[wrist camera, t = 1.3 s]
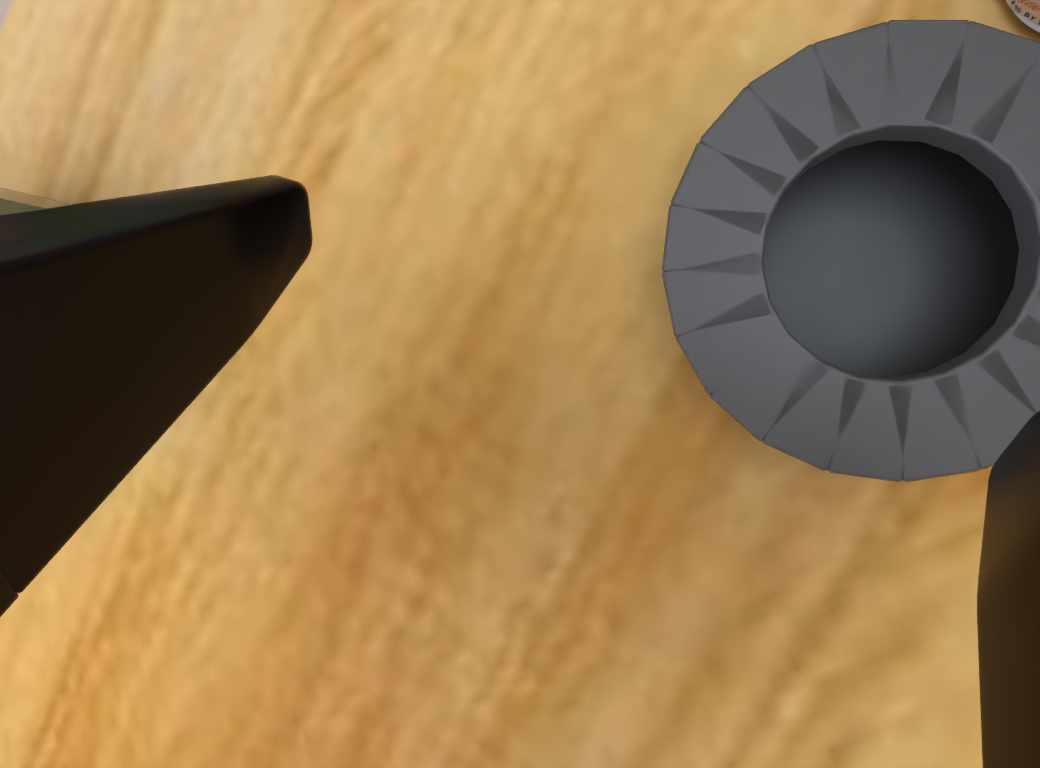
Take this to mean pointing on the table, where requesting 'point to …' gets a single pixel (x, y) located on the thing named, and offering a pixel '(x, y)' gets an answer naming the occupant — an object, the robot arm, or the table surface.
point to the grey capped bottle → (1027, 12)
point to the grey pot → (870, 251)
